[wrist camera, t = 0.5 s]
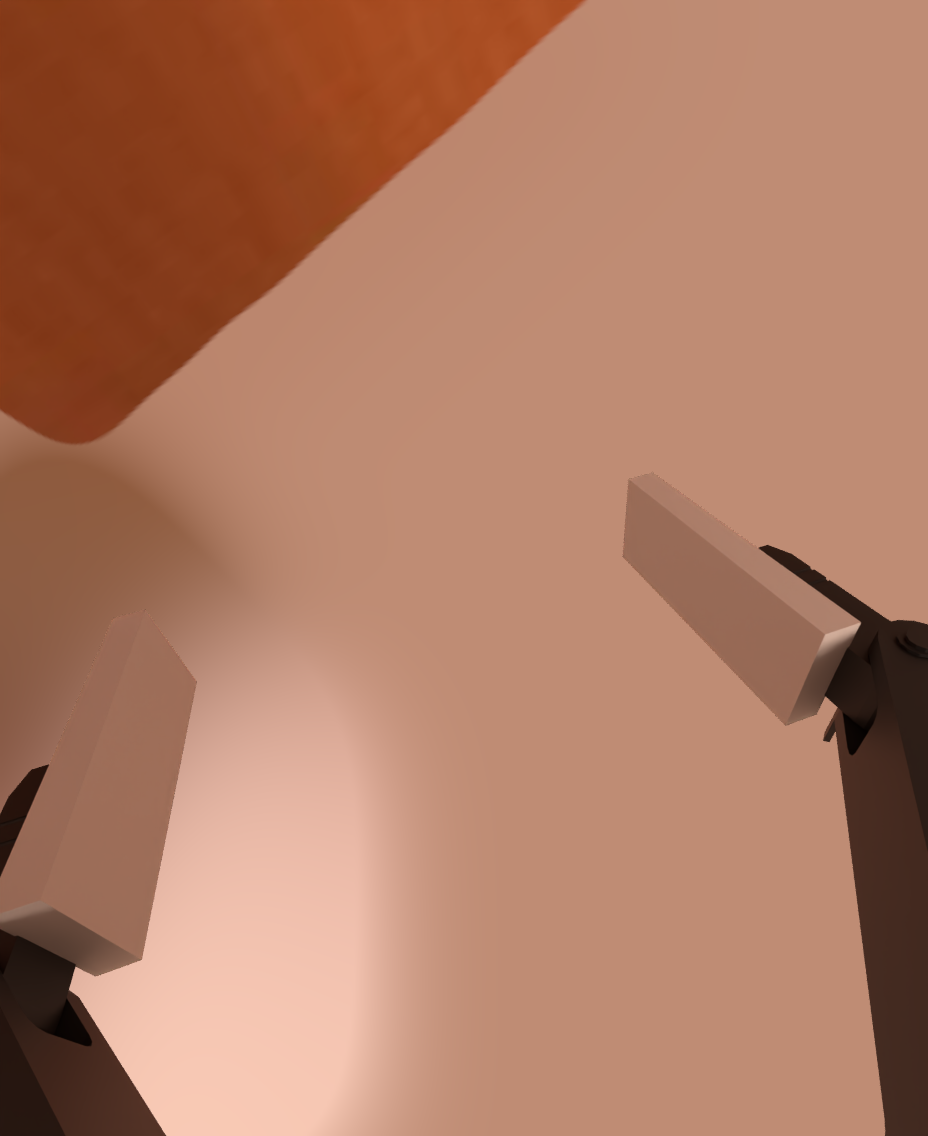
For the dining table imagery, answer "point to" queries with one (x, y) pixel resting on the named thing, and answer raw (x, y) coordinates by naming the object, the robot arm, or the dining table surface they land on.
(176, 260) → the dining table surface
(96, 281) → the dining table surface
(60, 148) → the dining table surface
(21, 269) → the dining table surface
